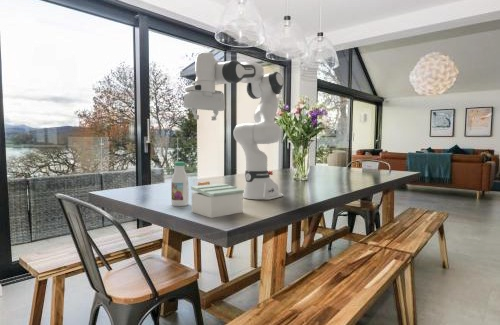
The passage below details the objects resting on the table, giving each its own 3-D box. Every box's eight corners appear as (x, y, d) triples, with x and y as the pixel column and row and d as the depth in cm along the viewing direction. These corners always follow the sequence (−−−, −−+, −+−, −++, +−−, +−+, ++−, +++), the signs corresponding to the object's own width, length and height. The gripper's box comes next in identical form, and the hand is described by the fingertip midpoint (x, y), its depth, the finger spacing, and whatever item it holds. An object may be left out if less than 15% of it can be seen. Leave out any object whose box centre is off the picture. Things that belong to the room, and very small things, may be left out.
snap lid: (217, 184, 150) (217, 180, 149) (244, 193, 136) (244, 188, 136) (186, 187, 139) (186, 182, 138) (212, 197, 125) (212, 192, 125)
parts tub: (222, 207, 147) (222, 189, 147) (242, 212, 137) (242, 193, 136) (191, 212, 137) (191, 193, 136) (211, 217, 126) (211, 197, 126)
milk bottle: (181, 202, 157) (181, 161, 156) (192, 204, 152) (191, 161, 151) (168, 205, 151) (167, 161, 150) (178, 207, 146) (178, 162, 145)
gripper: (219, 92, 156) (219, 121, 157) (181, 87, 142) (182, 119, 143) (227, 90, 151) (227, 120, 152) (189, 85, 138) (189, 118, 139)
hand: (205, 119), depth 148 cm, fingers open, 8 cm apart
